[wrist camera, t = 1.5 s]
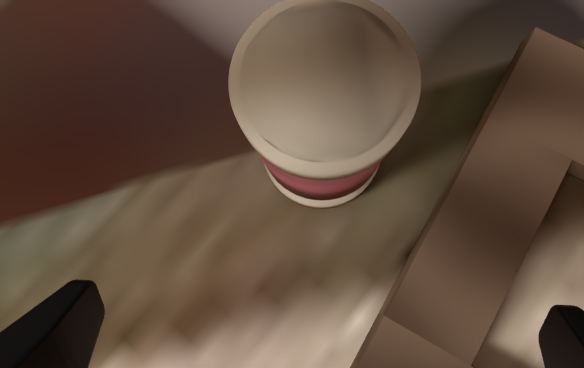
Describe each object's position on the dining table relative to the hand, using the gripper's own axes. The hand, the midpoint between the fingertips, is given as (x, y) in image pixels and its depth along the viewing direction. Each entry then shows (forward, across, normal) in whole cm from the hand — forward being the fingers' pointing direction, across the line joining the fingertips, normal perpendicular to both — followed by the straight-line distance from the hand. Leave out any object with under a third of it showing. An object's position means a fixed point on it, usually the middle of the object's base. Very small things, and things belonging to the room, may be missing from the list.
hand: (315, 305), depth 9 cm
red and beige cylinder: (+13, 0, +4) cm, 14 cm away
